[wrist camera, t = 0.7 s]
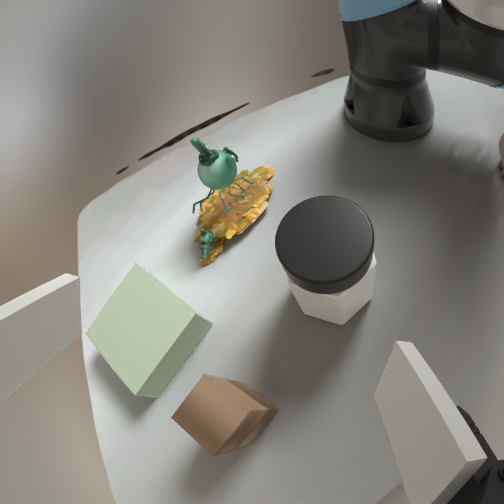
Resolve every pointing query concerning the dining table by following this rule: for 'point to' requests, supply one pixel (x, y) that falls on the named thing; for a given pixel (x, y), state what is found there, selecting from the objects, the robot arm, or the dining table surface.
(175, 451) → the dining table surface
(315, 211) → the jar
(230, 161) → the green insect figurine
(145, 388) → the sage block
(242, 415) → the walnut block
